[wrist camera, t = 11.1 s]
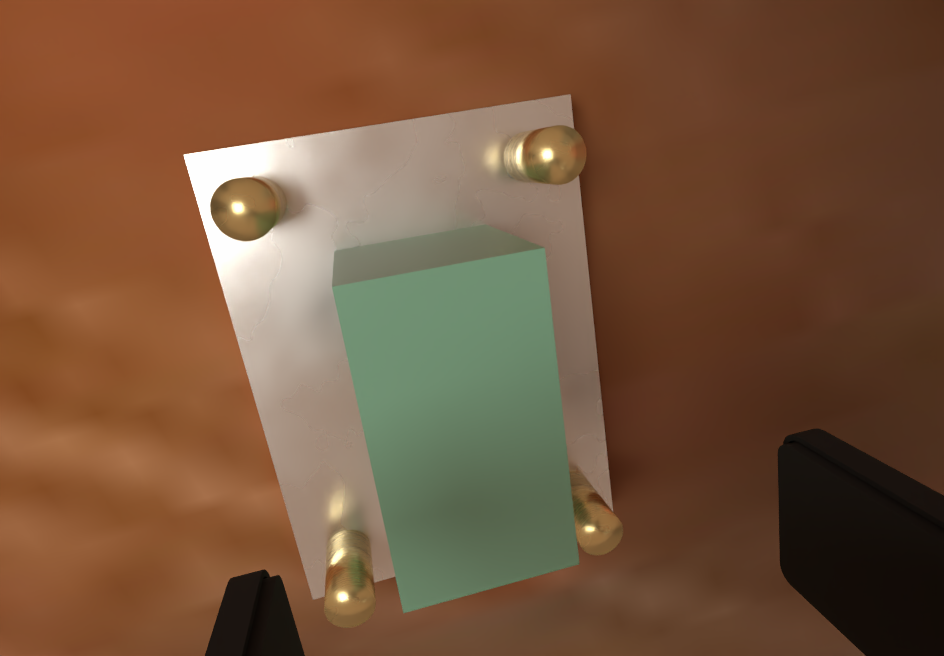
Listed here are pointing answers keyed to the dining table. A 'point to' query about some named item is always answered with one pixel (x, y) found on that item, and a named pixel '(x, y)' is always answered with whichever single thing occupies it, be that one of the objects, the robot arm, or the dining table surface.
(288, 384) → the chassis plate
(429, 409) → the block
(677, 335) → the dining table surface
